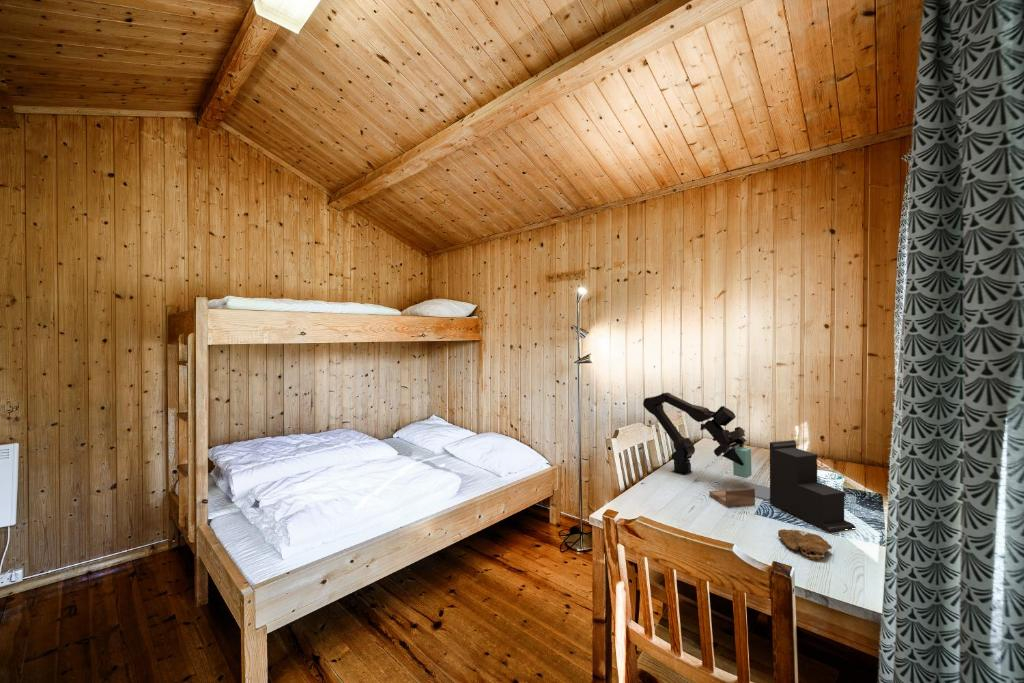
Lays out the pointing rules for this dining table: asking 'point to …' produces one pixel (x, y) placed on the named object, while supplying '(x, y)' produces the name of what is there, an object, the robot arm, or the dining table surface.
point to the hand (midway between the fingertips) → (745, 463)
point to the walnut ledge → (734, 497)
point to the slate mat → (756, 490)
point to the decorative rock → (805, 543)
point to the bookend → (804, 488)
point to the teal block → (746, 459)
